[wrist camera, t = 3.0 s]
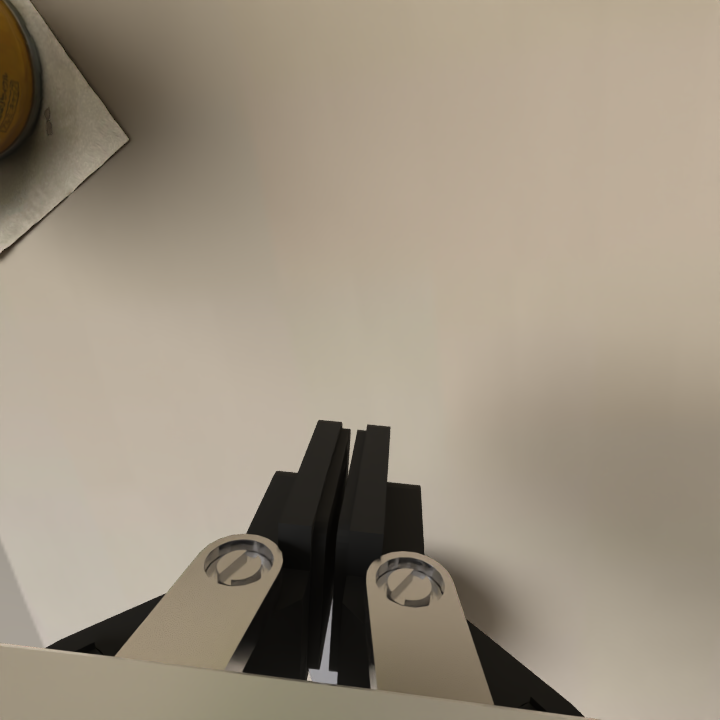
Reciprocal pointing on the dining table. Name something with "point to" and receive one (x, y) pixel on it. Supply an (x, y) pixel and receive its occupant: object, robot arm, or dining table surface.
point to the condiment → (44, 122)
